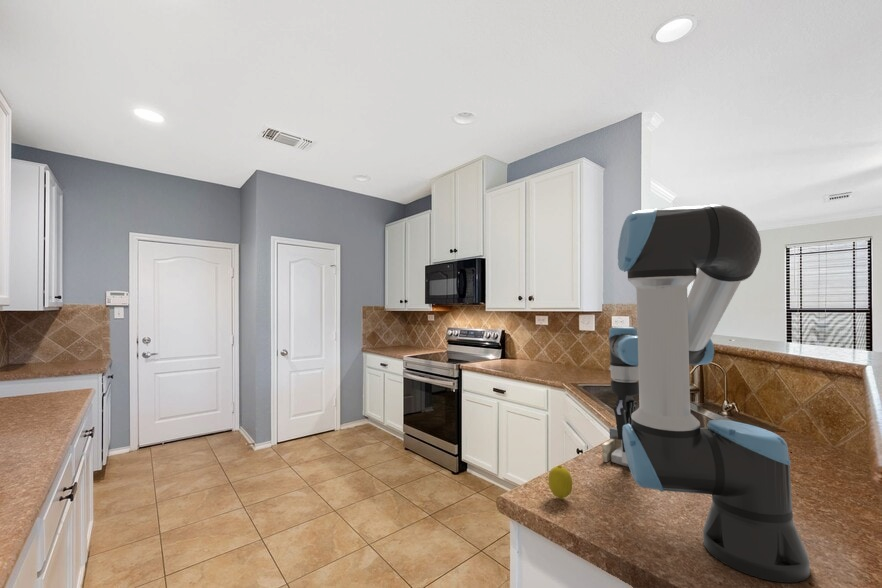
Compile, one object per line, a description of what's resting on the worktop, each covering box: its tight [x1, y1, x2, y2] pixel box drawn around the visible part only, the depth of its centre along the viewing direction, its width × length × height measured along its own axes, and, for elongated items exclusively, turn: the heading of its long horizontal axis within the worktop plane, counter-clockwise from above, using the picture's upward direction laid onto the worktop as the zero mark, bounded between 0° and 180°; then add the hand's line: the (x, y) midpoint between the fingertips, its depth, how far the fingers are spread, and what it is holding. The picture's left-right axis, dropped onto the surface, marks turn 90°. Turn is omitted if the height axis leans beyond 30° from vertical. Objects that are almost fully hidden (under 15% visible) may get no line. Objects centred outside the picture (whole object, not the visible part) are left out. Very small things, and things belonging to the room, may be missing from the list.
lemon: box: [548, 464, 573, 500], centre depth 93 cm, size 6×6×8 cm
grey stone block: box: [610, 447, 629, 468], centre depth 115 cm, size 10×6×6 cm, turn 40°
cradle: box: [601, 438, 621, 463], centre depth 114 cm, size 8×14×5 cm, turn 47°
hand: (627, 462), depth 111 cm, fingers closed
